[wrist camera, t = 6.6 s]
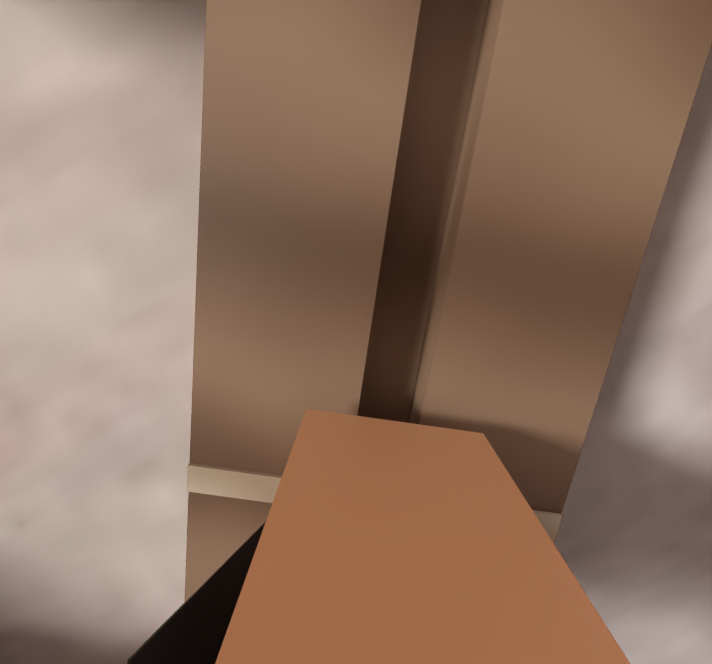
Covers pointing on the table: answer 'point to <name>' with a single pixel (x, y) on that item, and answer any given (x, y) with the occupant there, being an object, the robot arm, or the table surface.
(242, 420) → the fader board
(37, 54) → the table surface
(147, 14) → the table surface
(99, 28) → the table surface
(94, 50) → the table surface
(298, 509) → the fader knob
